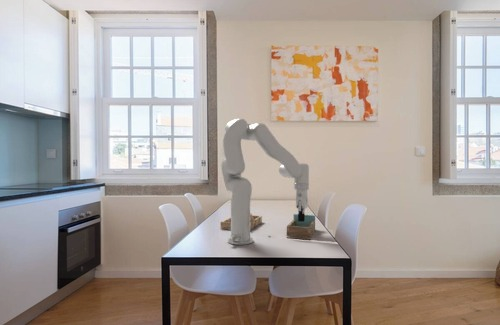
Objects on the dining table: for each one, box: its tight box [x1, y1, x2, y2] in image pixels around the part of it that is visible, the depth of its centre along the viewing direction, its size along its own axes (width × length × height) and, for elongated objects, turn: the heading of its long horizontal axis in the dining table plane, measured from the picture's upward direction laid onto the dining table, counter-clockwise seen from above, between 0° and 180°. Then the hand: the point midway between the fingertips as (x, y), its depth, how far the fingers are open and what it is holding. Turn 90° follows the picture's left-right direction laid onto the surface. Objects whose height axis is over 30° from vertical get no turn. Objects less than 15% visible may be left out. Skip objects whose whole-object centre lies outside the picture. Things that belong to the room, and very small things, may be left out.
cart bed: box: [286, 219, 316, 241], centre depth 162 cm, size 18×12×6 cm
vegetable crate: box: [220, 214, 263, 231], centre depth 185 cm, size 26×17×4 cm, turn 161°
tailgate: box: [293, 213, 316, 227], centre depth 171 cm, size 1×12×8 cm, turn 71°
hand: (301, 220), depth 161 cm, fingers closed
